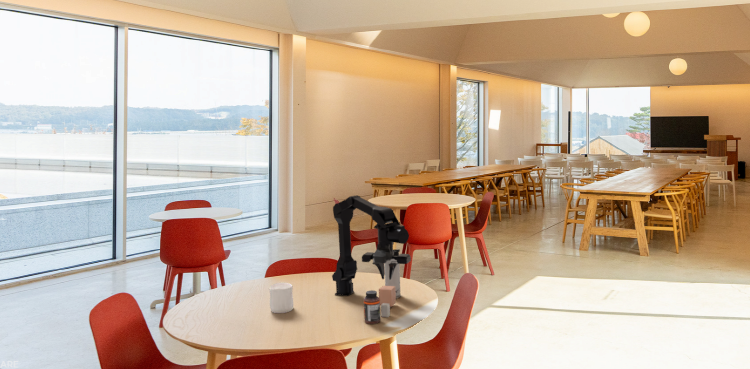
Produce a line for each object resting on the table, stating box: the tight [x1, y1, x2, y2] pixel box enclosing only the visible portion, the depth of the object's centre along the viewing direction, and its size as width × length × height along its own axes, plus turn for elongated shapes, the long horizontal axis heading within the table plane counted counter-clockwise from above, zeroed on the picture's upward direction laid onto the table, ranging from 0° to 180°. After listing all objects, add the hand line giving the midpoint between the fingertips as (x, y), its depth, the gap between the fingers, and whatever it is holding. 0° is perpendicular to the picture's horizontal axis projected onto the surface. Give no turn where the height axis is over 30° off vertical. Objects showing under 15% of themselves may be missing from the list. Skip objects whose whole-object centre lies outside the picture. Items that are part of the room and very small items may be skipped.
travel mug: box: [384, 248, 401, 299], centre depth 242 cm, size 6×7×20 cm
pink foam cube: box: [378, 285, 397, 308], centre depth 230 cm, size 5×5×7 cm
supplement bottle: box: [363, 289, 381, 325], centre depth 213 cm, size 6×6×11 cm
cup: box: [268, 282, 294, 314], centre depth 231 cm, size 10×10×10 cm
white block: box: [380, 303, 391, 318], centre depth 219 cm, size 3×3×4 cm
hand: (386, 279), depth 229 cm, fingers open, 3 cm apart
